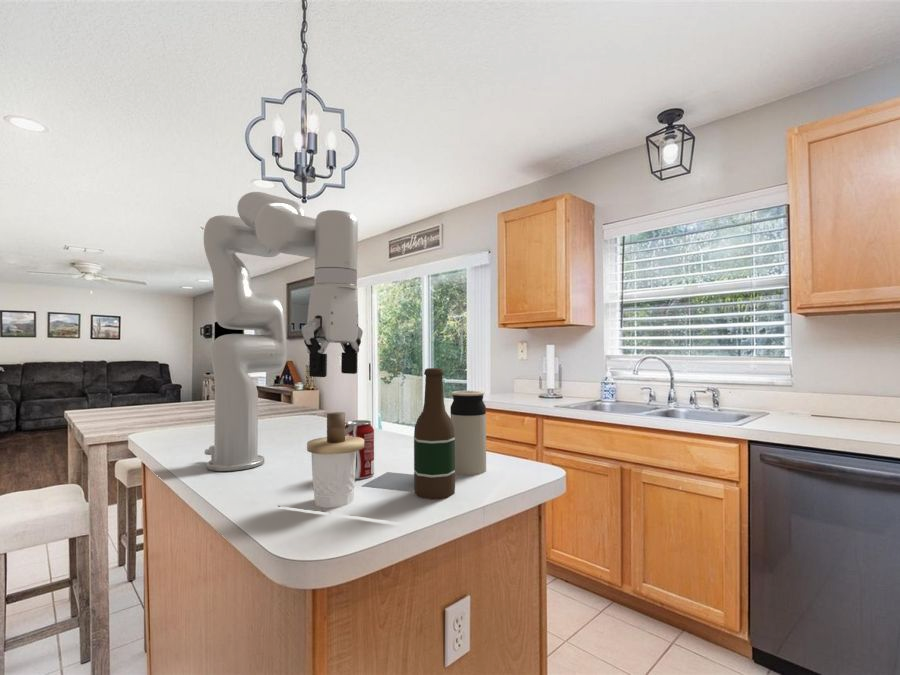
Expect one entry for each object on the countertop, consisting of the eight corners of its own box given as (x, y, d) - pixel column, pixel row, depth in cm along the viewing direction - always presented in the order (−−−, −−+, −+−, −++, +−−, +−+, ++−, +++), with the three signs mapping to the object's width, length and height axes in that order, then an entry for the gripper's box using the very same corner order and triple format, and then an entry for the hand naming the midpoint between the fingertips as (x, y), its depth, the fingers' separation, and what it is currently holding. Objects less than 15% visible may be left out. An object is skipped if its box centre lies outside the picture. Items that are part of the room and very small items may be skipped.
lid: (294, 452, 79) (295, 416, 79) (328, 441, 89) (328, 409, 89) (345, 455, 76) (344, 418, 76) (374, 444, 85) (374, 410, 86)
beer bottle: (405, 495, 87) (405, 368, 87) (437, 487, 92) (437, 367, 92) (430, 505, 81) (430, 369, 81) (463, 496, 86) (462, 368, 86)
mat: (361, 488, 91) (361, 485, 91) (387, 474, 101) (387, 472, 101) (411, 494, 87) (411, 491, 87) (433, 478, 98) (433, 476, 98)
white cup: (362, 506, 81) (362, 449, 81) (317, 514, 77) (317, 454, 77) (348, 494, 87) (348, 441, 88) (306, 501, 84) (306, 446, 84)
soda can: (377, 473, 102) (377, 419, 102) (369, 482, 95) (369, 424, 95) (348, 473, 102) (348, 419, 103) (337, 481, 96) (337, 424, 96)
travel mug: (482, 478, 98) (481, 393, 98) (446, 475, 100) (446, 393, 101) (489, 468, 106) (488, 390, 106) (456, 466, 108) (455, 390, 108)
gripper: (344, 287, 93) (343, 371, 92) (286, 274, 76) (285, 377, 76) (377, 286, 90) (376, 373, 90) (324, 273, 74) (323, 379, 74)
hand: (334, 375), depth 83 cm, fingers open, 9 cm apart
